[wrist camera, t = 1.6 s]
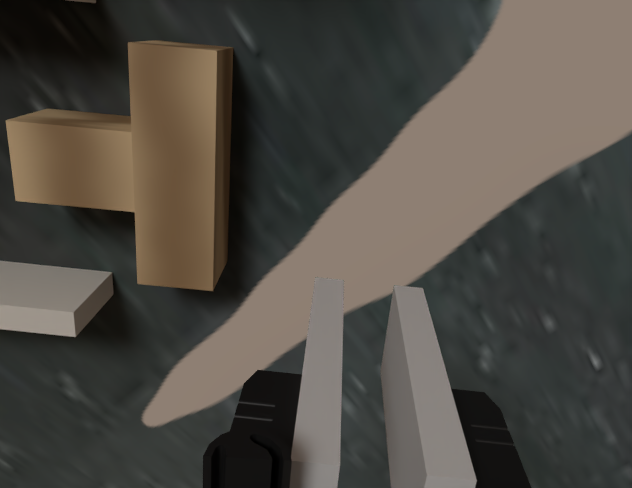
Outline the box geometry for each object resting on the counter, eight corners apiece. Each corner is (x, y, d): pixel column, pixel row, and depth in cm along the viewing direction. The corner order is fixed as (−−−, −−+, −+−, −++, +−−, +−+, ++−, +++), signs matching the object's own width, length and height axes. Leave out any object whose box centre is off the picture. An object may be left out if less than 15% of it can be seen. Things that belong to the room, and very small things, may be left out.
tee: (233, 47, 28) (216, 50, 24) (227, 260, 32) (212, 291, 29) (40, 29, 28) (-6, 30, 24) (60, 244, 32) (24, 273, 29)
